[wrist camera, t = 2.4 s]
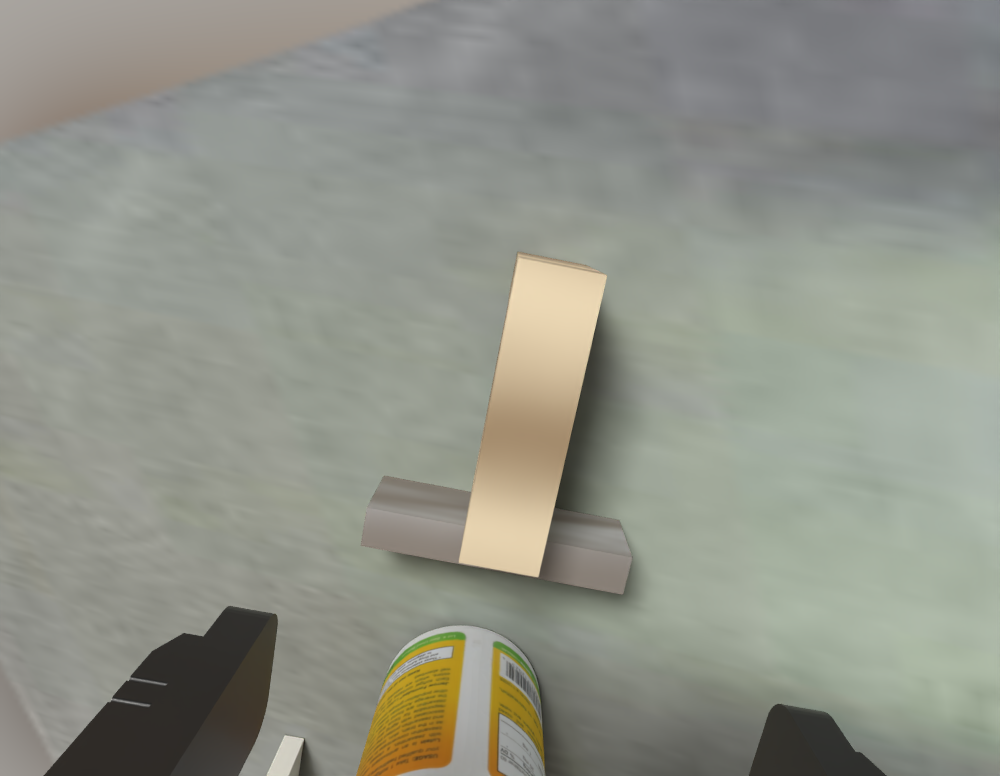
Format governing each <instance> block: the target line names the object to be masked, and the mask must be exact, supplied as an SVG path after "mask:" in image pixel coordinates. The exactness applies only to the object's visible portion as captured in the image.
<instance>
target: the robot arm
mask: <svg viewBox="0 0 1000 776" xmlns="http://www.w3.org/2000/svg"><path fill="white" fill-rule="evenodd" d="M277 625H278V619H277V615H276V614H272V613H267V612H261V611H255V610H250V609H244V608H238V607H233V606H228V607H227V608H226V609H225V610H224V611H223V612H222V613H221V615H220V616H219V617H218V619H217V620H216V621H215V622H214V624H213V625H212V626H211V628H210V629H209V630H208V631H207V633H206V634H205V635H204V637H203V636H197V635H192V634H186V633H183V634H181V635H180V636H178V637H176V638H174V639H173V640H171V641H169V642H167V643H166V644H164V645H162V646H161V647H159V648H157V649H155V650H154V651H152V652H151V653H150V654H149V656H148V657H147V658H146V659H145V660H144V661H143V662H142V664H141V665H140V666H139V667H138V668H137V669H136V670H135V672H134V673H133V674H132V675H131V677H130V680H129V681H126V682H125V683H124V684H123V685H122V686H121V688H120V689H119V690H118V691H117V692H116V693H115V695H114V696H113V698H112V700H111V702H108V703H107V704H106V705H105V706H104V707H103V708H102V709H101V711H100V712H99V713H98V714H97V715H96V716H95V717H94V719H93V720H92V721H91V722H90V723H89V724H88V725H87V727H86V728H85V729H84V730H83V731H82V732H81V734H80V735H79V736H78V737H77V738H76V739H75V740H74V742H73V743H72V744H71V745H70V746H69V747H68V748H67V750H66V751H65V752H64V753H63V754H62V755H61V756H60V758H59V759H58V760H57V761H56V762H55V763H54V764H53V766H52V767H51V768H50V769H49V770H48V771H47V773H46V774H45V775H44V776H238V775H239V773H240V771H241V769H242V767H243V765H244V763H245V761H246V759H247V757H248V755H249V753H250V751H251V749H252V748H253V746H254V743H255V741H256V739H257V737H258V734H259V731H260V728H261V725H262V722H263V719H264V715H265V712H266V707H267V702H268V696H269V689H270V681H271V673H272V665H273V657H274V650H275V642H276V634H277ZM749 776H886V775H885V774H884V773H883V772H882V771H881V770H880V769H879V768H877V767H876V766H875V765H874V764H873V763H872V762H871V761H870V760H869V759H867V758H866V757H865V756H864V755H863V754H862V753H860V752H855V751H854V749H853V748H852V746H851V745H850V743H849V742H848V740H847V739H846V737H845V736H844V734H843V733H842V732H841V730H840V729H839V727H838V726H837V724H836V723H835V721H834V720H833V718H832V717H831V716H830V715H829V714H828V713H826V712H822V711H816V710H811V709H805V708H799V707H794V706H788V705H782V704H777V705H775V706H773V708H772V709H771V710H770V712H769V714H768V717H767V720H766V723H765V727H764V730H763V733H762V736H761V739H760V742H759V745H758V749H757V752H756V755H755V758H754V761H753V764H752V767H751V771H750V774H749Z"/></svg>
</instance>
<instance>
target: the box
mask: <svg viewBox="0 0 1000 776" xmlns="http://www.w3.org/2000/svg"><path fill="white" fill-rule="evenodd" d="M303 743H304V739H303V738H298V737H292V736H287V735H285V736H284V738H283V741H282V743H281V745H280V747H279V749H278V751H277V754H276V756H275V758H274V760H273V762H272V765H271V767H270V769H269V771H268V773H267V775H266V776H299V770H300V763H301V756H302V750H303Z"/></svg>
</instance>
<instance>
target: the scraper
mask: <svg viewBox="0 0 1000 776" xmlns="http://www.w3.org/2000/svg"><path fill="white" fill-rule="evenodd" d="M606 278H607V275H605V274H603V273H601V272H599V271H597V270H595V269H593V268H591V267H589V266H586V265H582V264H577V263H572V262H567V261H562V260H557V259H552V258H547V257H542V256H537V255H532V254H527V253H522V252H517V257H516V262H515V267H514V273H513V278H512V283H511V288H510V293H509V302H508V307H507V312H506V317H505V322H504V328H503V333H502V338H501V343H500V348H499V353H498V358H497V363H496V368H495V374H494V379H493V384H492V389H491V394H490V399H489V404H488V409H487V414H486V420H485V425H484V430H483V435H482V440H481V445H480V450H479V455H478V460H477V466H476V471H475V476H474V481H473V486H472V491H471V492H468V491H463V490H458V489H452V488H447V487H442V486H436V485H431V484H426V483H420V482H415V481H410V480H405V479H399V478H394V477H389V476H384V477H383V478H382V480H381V482H380V484H379V486H378V488H377V490H376V491H375V493H374V495H373V497H372V499H371V501H370V503H369V504H368V506H367V509H366V516H365V522H364V529H363V535H362V541H361V546H365V547H371V548H376V549H381V550H387V551H392V552H397V553H403V554H408V555H413V556H419V557H424V558H429V559H435V560H440V561H446V562H451V563H456V564H462V565H467V566H472V567H478V568H483V569H488V570H494V571H499V572H504V573H510V574H515V575H520V576H526V577H531V578H536V579H542V580H547V581H553V582H558V583H563V584H569V585H574V586H579V587H585V588H590V589H595V590H601V591H606V592H611V593H617V594H622V595H623V593H624V589H625V585H626V581H627V577H628V573H629V570H630V566H631V562H632V558H633V557H632V554H631V552H630V549H629V546H628V543H627V540H626V538H625V535H624V532H623V529H622V527H621V524H620V521H619V520H616V519H611V518H606V517H600V516H595V515H590V514H584V513H579V512H574V511H569V510H563V509H558V508H554V506H555V502H556V498H557V493H558V489H559V484H560V480H561V476H562V471H563V467H564V463H565V458H566V454H567V449H568V445H569V441H570V436H571V432H572V427H573V423H574V419H575V414H576V410H577V406H578V401H579V397H580V392H581V388H582V384H583V379H584V375H585V370H586V366H587V362H588V357H589V353H590V349H591V344H592V340H593V335H594V331H595V327H596V322H597V318H598V313H599V309H600V305H601V300H602V296H603V292H604V287H605V283H606Z"/></svg>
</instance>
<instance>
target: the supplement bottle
mask: <svg viewBox="0 0 1000 776" xmlns="http://www.w3.org/2000/svg"><path fill="white" fill-rule="evenodd" d="M356 776H545V762H544V746H543V729H542V713H541V700H540V692H539V686H538V681H537V678H536V675H535V672H534V670H533V668H532V666H531V664H530V662H529V661H528V659H527V658H526V656H525V655H524V654H523V653H522V652H521V650H520V649H519V648H517V647H516V646H515V645H514V644H513V643H512V642H511V641H509V640H508V639H507V638H505V637H503V636H501V635H500V634H497V633H495V632H493V631H490V630H488V629H484V628H480V627H475V626H464V625H455V626H447V627H442V628H437V629H434V630H431V631H428V632H426V633H424V634H422V635H420V636H418V637H416V638H415V639H413V640H412V641H411V642H409V643H408V644H407V645H406V646H405V647H403V649H402V650H401V651H400V652H399V653H398V654H397V656H396V657H395V659H394V660H393V662H392V664H391V666H390V668H389V670H388V672H387V675H386V678H385V680H384V683H383V686H382V689H381V693H380V696H379V700H378V703H377V707H376V711H375V714H374V717H373V721H372V725H371V728H370V731H369V735H368V738H367V741H366V745H365V749H364V751H363V755H362V758H361V761H360V765H359V768H358V771H357V775H356Z"/></svg>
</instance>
